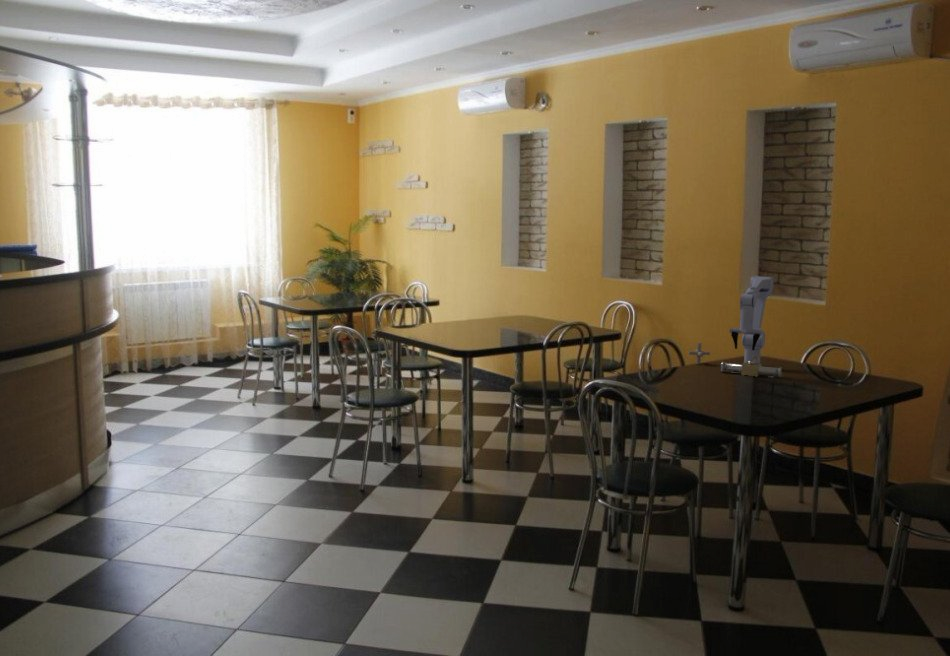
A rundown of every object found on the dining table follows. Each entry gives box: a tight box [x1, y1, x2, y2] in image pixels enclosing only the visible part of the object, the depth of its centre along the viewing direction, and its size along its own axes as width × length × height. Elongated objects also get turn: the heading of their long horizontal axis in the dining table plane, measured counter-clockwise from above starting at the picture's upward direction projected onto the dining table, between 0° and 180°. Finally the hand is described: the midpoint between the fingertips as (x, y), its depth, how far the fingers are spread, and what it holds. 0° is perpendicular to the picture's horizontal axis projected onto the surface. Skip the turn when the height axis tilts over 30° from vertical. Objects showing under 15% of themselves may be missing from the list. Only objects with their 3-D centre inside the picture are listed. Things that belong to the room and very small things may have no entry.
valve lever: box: [748, 357, 758, 364], centre depth 392 cm, size 14×3×1 cm, turn 153°
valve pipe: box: [720, 361, 783, 379], centre depth 388 cm, size 6×26×5 cm, turn 63°
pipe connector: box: [687, 342, 711, 364], centre depth 413 cm, size 10×10×10 cm
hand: (744, 349), depth 394 cm, fingers open, 7 cm apart
